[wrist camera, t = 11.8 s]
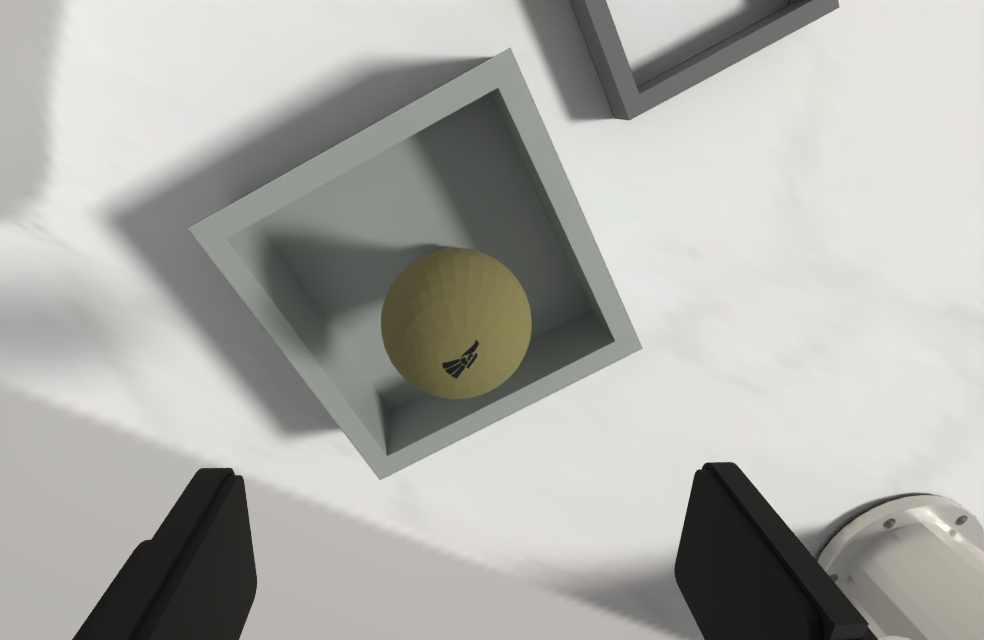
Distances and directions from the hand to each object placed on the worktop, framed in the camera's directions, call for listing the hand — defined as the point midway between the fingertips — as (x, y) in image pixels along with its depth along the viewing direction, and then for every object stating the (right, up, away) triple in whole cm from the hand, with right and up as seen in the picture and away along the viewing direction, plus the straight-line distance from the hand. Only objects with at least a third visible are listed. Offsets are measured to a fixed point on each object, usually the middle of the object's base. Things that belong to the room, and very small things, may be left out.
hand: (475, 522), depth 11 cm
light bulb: (-2, +7, +16) cm, 17 cm away
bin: (-3, +7, +17) cm, 18 cm away
